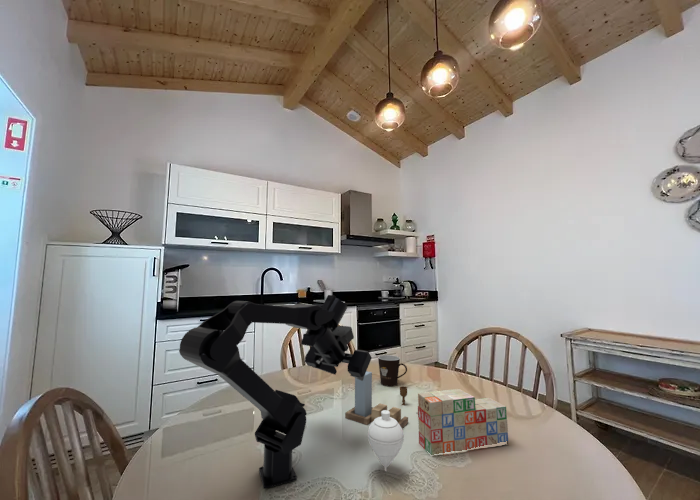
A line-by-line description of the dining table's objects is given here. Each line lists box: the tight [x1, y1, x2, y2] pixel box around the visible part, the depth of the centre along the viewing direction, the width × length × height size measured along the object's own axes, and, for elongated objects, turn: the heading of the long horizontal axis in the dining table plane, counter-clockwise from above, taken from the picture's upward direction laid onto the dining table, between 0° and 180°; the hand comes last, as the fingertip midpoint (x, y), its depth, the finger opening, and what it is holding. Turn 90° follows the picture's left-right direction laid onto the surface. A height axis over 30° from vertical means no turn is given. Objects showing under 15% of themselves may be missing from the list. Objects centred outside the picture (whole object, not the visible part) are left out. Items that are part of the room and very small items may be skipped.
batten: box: [354, 371, 373, 417], centre depth 89 cm, size 4×4×12 cm
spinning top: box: [367, 409, 405, 472], centre depth 64 cm, size 8×8×12 cm
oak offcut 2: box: [388, 406, 402, 422], centre depth 84 cm, size 5×2×4 cm, turn 146°
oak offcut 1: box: [370, 402, 388, 424], centre depth 86 cm, size 5×2×4 cm, turn 146°
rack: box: [344, 406, 409, 429], centre depth 86 cm, size 8×16×2 cm, turn 56°
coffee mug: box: [377, 354, 408, 388], centre depth 117 cm, size 12×9×10 cm
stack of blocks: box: [417, 388, 509, 455], centre depth 75 cm, size 21×6×12 cm, turn 105°
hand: (348, 376), depth 84 cm, fingers open, 9 cm apart
